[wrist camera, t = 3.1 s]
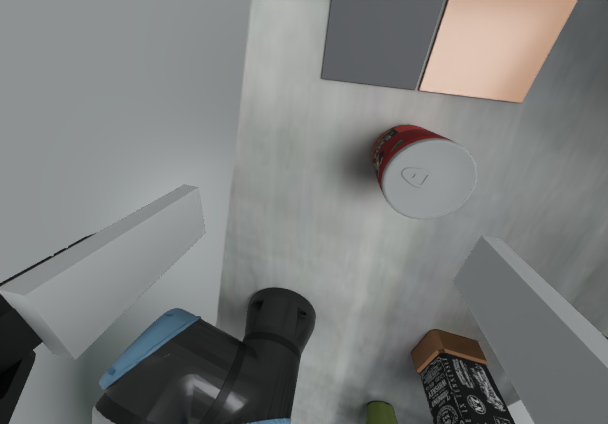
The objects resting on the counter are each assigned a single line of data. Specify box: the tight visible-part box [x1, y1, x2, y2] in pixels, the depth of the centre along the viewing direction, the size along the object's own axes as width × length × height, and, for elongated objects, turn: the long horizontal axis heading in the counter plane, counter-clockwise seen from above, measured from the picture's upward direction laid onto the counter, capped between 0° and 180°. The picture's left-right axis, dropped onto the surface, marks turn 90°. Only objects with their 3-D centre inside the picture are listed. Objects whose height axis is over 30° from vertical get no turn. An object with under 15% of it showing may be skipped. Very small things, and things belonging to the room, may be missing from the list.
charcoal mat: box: [322, 0, 443, 90], centre depth 23 cm, size 11×11×1 cm
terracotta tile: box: [419, 0, 577, 103], centre depth 22 cm, size 11×11×1 cm
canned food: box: [372, 125, 478, 219], centre depth 24 cm, size 8×8×11 cm
